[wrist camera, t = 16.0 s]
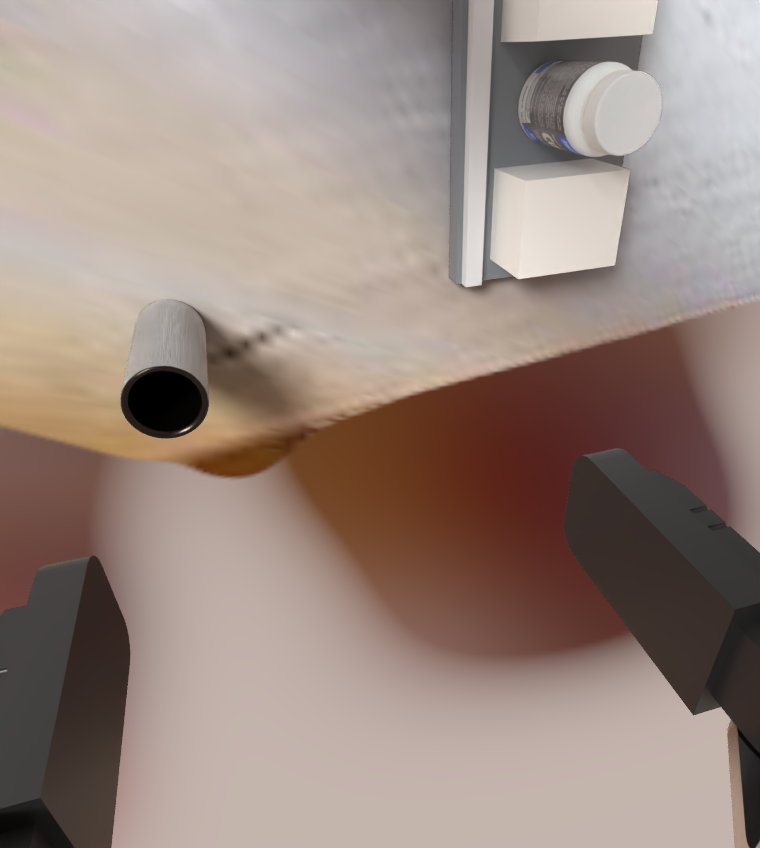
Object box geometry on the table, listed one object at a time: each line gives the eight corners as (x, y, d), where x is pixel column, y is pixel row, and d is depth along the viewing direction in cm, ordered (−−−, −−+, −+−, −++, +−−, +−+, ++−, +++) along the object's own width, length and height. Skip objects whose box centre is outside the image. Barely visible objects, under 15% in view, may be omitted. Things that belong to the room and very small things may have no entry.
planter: (144, 289, 39) (131, 355, 31) (213, 311, 41) (219, 379, 33) (127, 350, 41) (110, 428, 33) (194, 368, 43) (195, 447, 34)
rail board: (454, -120, 32) (501, -151, 28) (650, -122, 35) (726, -150, 30) (449, 277, 44) (481, 306, 39) (595, 257, 47) (643, 282, 42)
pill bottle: (511, 143, 39) (579, 164, 32) (522, 58, 37) (598, 60, 30) (576, 144, 40) (656, 164, 33) (592, 61, 38) (681, 63, 31)
